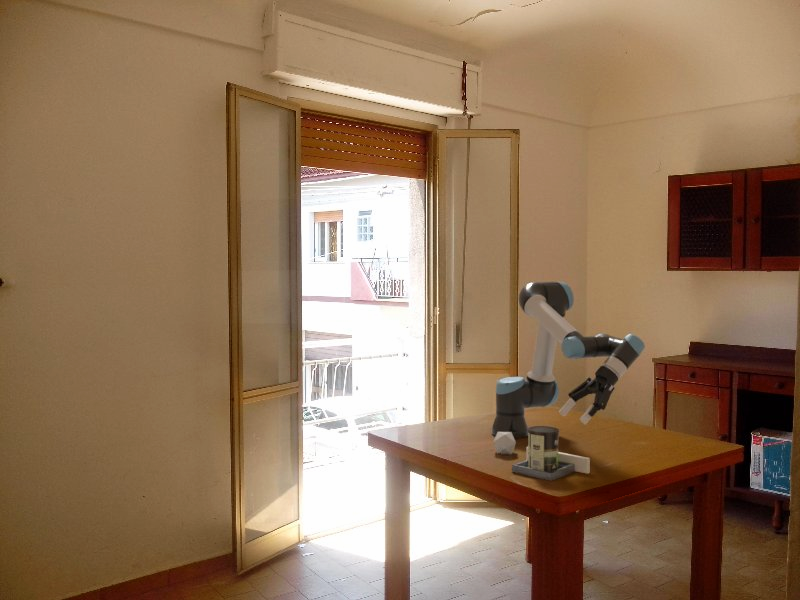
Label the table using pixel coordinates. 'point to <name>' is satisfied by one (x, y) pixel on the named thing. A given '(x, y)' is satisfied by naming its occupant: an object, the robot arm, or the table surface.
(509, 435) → the die
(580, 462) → the board
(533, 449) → the coffee can
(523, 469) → the grey square tray
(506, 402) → the robot arm
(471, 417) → the table surface
